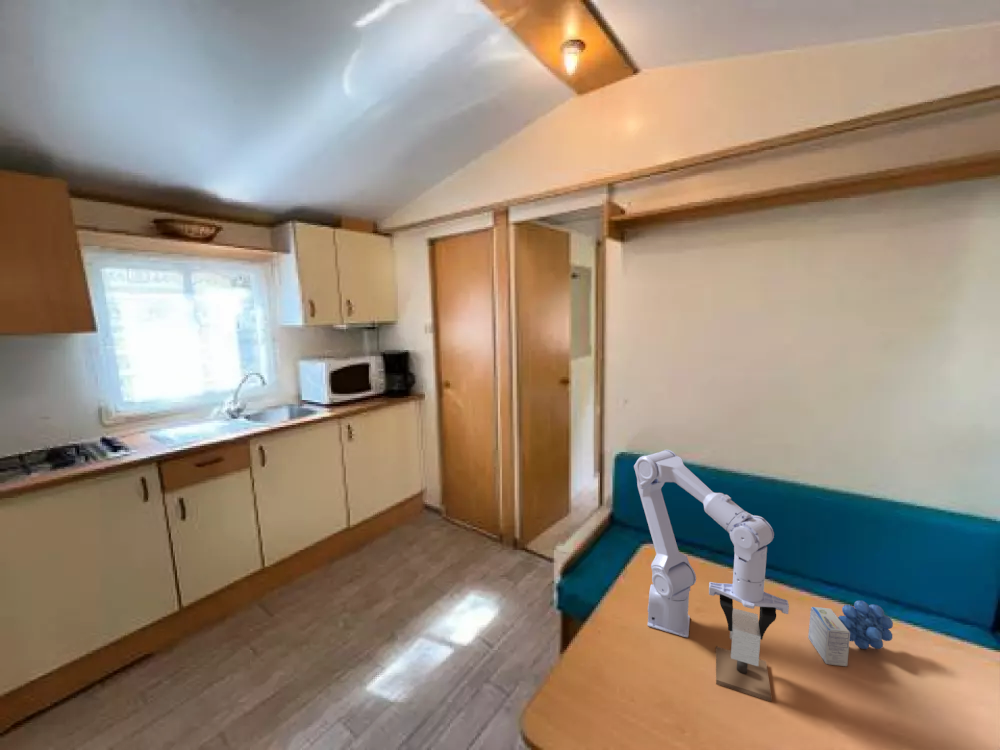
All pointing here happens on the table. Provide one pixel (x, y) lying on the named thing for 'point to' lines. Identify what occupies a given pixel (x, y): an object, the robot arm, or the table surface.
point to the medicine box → (829, 636)
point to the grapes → (866, 624)
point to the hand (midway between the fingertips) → (744, 632)
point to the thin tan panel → (742, 675)
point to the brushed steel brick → (745, 637)
